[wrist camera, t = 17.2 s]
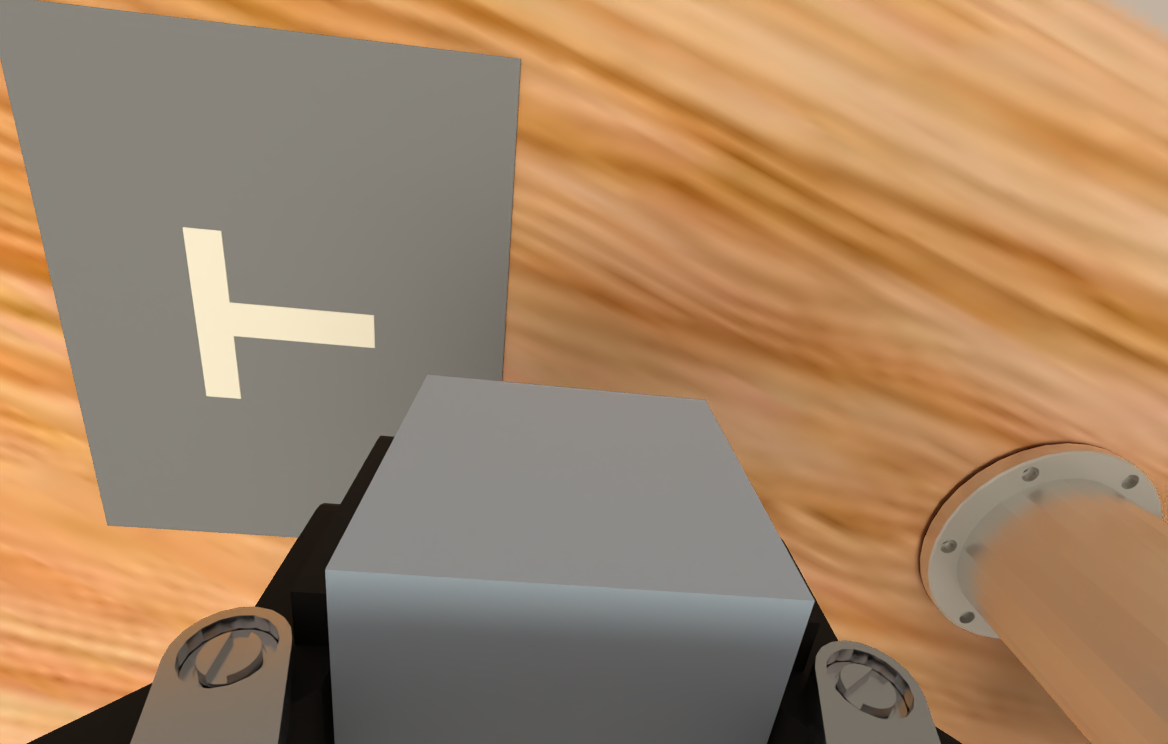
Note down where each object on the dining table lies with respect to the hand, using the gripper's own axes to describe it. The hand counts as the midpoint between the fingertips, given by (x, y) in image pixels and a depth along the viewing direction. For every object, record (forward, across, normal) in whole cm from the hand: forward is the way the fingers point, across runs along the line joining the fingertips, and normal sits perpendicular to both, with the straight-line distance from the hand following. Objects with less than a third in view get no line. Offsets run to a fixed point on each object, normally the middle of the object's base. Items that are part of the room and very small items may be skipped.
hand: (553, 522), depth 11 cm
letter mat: (+18, +12, +3) cm, 22 cm away
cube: (+1, 0, 0) cm, 1 cm away
